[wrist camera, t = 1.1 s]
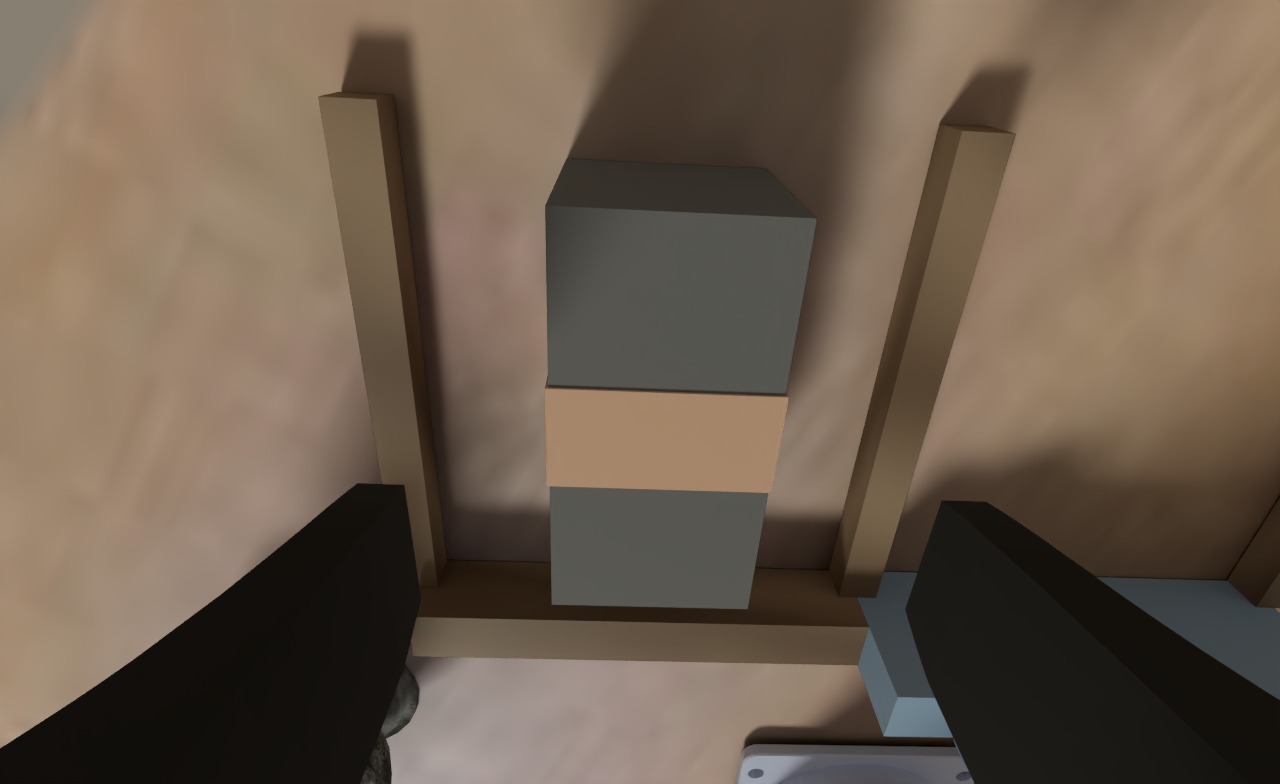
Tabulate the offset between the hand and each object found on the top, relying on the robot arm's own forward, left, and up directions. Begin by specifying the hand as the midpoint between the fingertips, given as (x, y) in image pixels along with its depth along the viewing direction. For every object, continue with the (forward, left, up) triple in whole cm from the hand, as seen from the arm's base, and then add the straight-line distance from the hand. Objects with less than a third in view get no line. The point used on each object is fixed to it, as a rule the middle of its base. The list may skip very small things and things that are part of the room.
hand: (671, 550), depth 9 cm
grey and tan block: (0, 0, -7) cm, 7 cm away
